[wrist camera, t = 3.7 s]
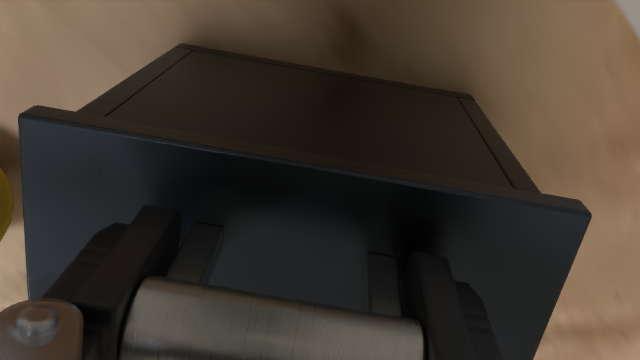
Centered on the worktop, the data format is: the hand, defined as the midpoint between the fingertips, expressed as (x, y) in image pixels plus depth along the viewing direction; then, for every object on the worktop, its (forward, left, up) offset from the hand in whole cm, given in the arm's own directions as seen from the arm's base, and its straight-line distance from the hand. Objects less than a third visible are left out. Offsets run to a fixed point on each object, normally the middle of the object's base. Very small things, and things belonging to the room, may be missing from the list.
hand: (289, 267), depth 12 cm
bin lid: (+5, 0, -1) cm, 5 cm away
